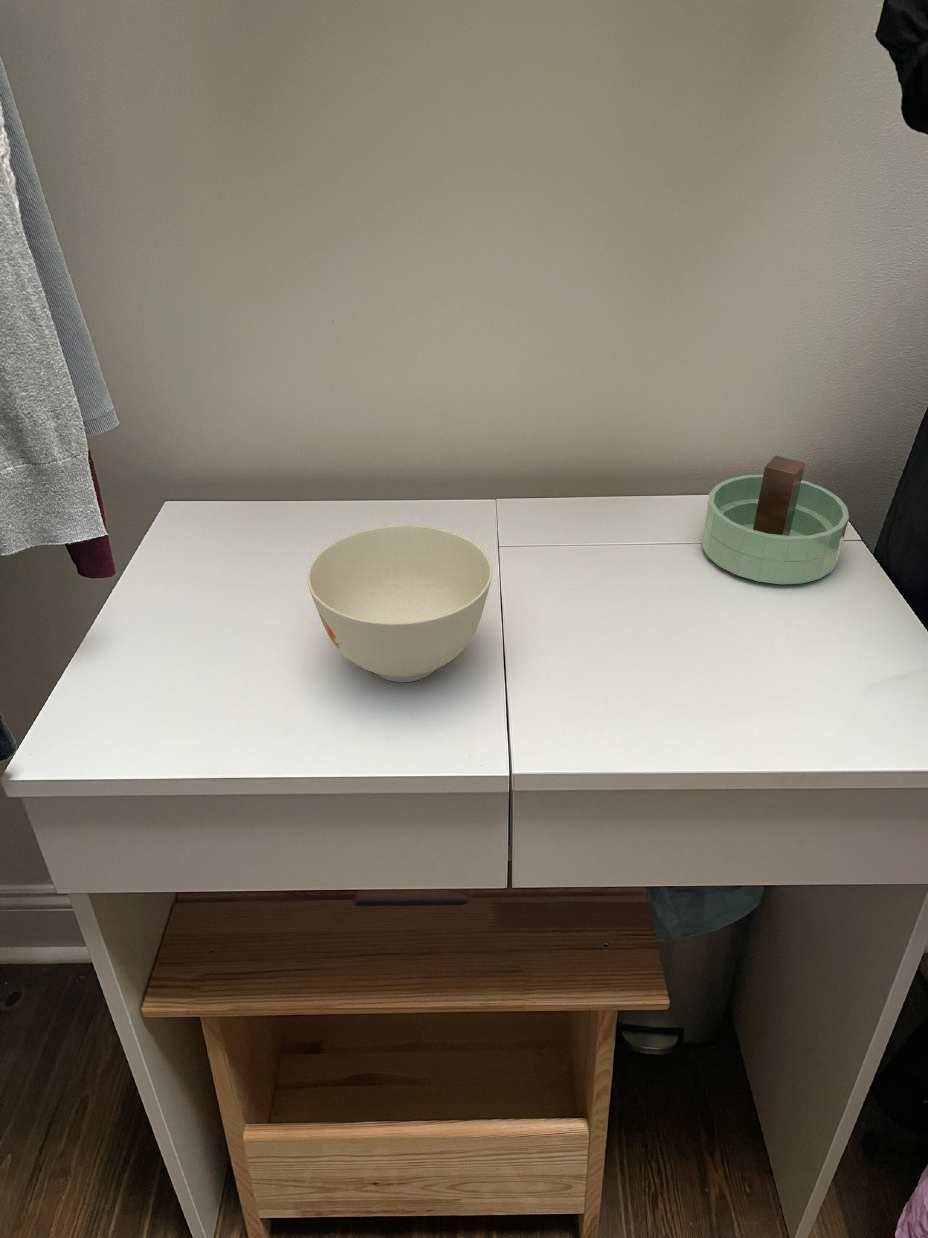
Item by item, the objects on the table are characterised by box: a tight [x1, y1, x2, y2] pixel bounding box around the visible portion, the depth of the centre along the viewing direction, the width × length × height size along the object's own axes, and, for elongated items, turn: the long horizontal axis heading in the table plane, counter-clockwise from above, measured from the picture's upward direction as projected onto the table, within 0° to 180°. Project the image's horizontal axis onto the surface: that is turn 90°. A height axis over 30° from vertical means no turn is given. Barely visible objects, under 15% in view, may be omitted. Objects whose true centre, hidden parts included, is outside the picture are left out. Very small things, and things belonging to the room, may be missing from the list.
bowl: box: [306, 524, 493, 683], centre depth 85 cm, size 16×16×10 cm
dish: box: [701, 474, 850, 585], centre depth 102 cm, size 14×14×6 cm
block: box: [753, 455, 806, 536], centre depth 100 cm, size 3×3×10 cm
